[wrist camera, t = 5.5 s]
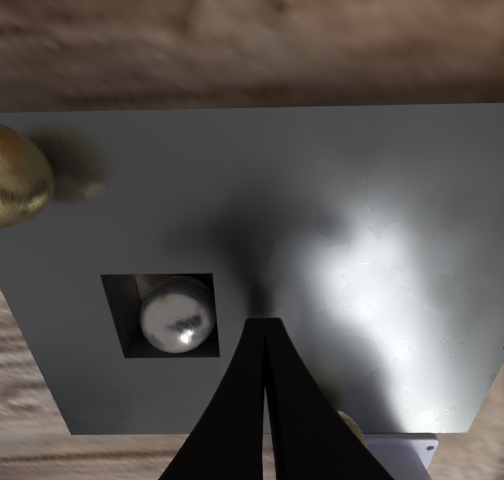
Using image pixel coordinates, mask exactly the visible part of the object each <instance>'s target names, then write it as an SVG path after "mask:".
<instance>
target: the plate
mask: <svg viewBox="0 0 504 480" xmlns="http://www.w3.org/2000/svg"><path fill="white" fill-rule="evenodd" d="M0 123H1V124H4V125H6V126H8V127H10V128H13V129H14V130H16V131H18V132H20V133H21V134H23V135H24V136H26V137H27V138H29V139H30V140H31V141H32V142H33V143H35V144H36V145H37V146H38V147H39V148H40V149H41V150H42V152H43V153H44V154H45V155H46V157H47V159H48V160H49V162H50V164H51V166H52V168H53V171H54V175H55V191H54V195H53V198H52V200H51V202H50V203H49V205H48V206H47V208H46V209H45V210H44V211H43V212H42V213H41V214H39V215H38V216H37V217H35V218H33V219H32V220H30V221H28V222H26V223H23V224H21V225H17V226H14V227H10V228H4V229H0V289H1V291H2V293H3V295H4V297H5V299H6V301H7V303H8V305H9V308H10V310H11V312H12V314H13V316H14V318H15V320H16V322H17V324H18V326H19V328H20V330H21V332H22V334H23V336H24V338H25V340H26V343H27V345H28V347H29V349H30V351H31V353H32V355H33V357H34V359H35V361H36V363H37V365H38V367H39V369H40V371H41V373H42V375H43V377H44V380H45V382H46V384H47V386H48V388H49V390H50V392H51V394H52V396H53V398H54V400H55V402H56V404H57V406H58V408H59V410H60V412H61V415H62V417H63V419H64V421H65V423H66V425H67V427H68V429H69V431H70V433H71V435H109V434H190V433H191V432H192V430H193V429H194V427H195V426H196V424H197V423H198V421H199V419H200V418H201V416H202V414H203V413H204V411H205V409H206V408H207V406H208V404H209V403H210V401H211V399H212V397H213V395H214V394H215V392H216V390H217V388H218V386H219V384H220V382H221V380H222V378H223V376H224V374H225V372H226V370H227V368H228V366H229V364H230V362H231V360H232V357H233V355H234V353H235V350H236V348H237V345H238V343H239V340H240V337H241V334H242V331H243V327H244V323H245V320H246V319H247V318H280V319H282V321H283V324H284V326H285V329H286V331H287V333H288V335H289V337H290V339H291V341H292V343H293V345H294V347H295V349H296V350H297V352H298V354H299V356H300V357H301V359H302V361H303V362H304V364H305V366H306V367H307V369H308V370H309V372H310V374H311V375H312V377H313V378H314V380H315V381H316V383H317V384H318V386H319V387H320V389H321V390H322V392H323V393H324V394H325V396H326V397H327V399H328V400H329V401H330V403H331V404H332V405H333V407H334V408H335V409H337V410H340V411H342V412H344V413H345V414H347V415H348V416H349V417H350V418H352V419H353V421H354V422H355V423H356V424H357V425H358V427H359V428H360V430H361V432H362V433H463V432H468V430H469V428H470V426H471V424H472V422H473V420H474V418H475V416H476V414H477V412H478V411H479V409H480V407H481V405H482V403H483V401H484V399H485V397H486V395H487V393H488V391H489V389H490V387H491V385H492V383H493V381H494V380H495V378H496V376H497V374H498V372H499V370H500V368H501V366H502V364H503V362H504V103H467V104H416V105H365V106H314V107H263V108H212V109H162V110H111V111H60V112H9V113H0ZM186 273H213V282H214V293H215V304H216V316H217V322H216V323H215V326H214V328H213V330H212V332H211V333H210V335H209V336H208V337H207V339H206V340H205V341H204V342H203V343H202V344H200V345H199V346H197V347H196V348H194V349H192V350H189V351H186V352H181V353H169V352H165V351H162V350H159V349H158V348H156V347H154V346H153V345H152V344H151V343H150V342H149V341H148V340H147V339H146V337H145V335H144V334H143V331H142V328H141V325H140V310H141V306H142V305H141V301H140V296H139V292H138V288H137V284H136V279H135V275H134V274H186ZM263 434H271V428H270V421H269V413H268V405H267V397H266V390H265V397H264V421H263Z"/></svg>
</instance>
